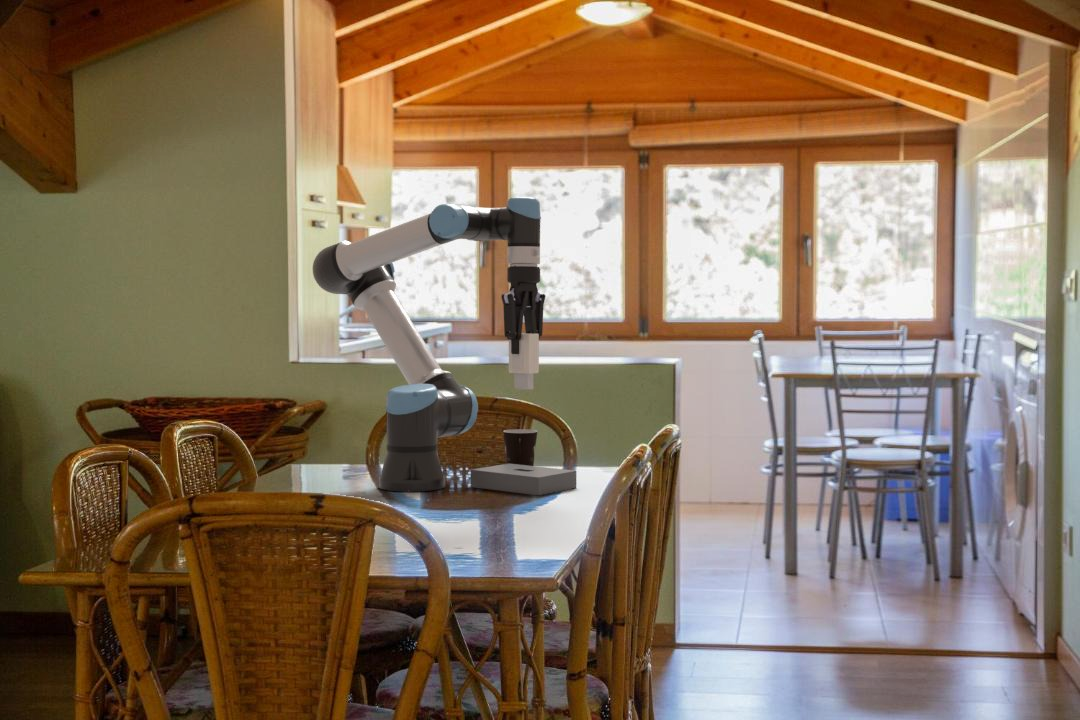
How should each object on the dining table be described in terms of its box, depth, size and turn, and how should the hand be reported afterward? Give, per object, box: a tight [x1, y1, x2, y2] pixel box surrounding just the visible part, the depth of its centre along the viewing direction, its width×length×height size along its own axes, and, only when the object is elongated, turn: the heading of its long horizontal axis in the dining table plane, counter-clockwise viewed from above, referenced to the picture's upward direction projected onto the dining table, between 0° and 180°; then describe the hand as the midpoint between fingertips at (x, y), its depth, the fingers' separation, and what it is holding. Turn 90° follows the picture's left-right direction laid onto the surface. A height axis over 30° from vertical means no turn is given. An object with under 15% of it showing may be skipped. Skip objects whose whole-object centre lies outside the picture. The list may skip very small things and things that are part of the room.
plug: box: [508, 332, 540, 390], centre depth 298 cm, size 6×4×13 cm, turn 52°
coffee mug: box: [502, 429, 538, 466], centre depth 326 cm, size 12×9×10 cm
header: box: [470, 463, 577, 496], centre depth 299 cm, size 20×14×4 cm
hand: (523, 368), depth 298 cm, fingers closed on plug, 3 cm apart
